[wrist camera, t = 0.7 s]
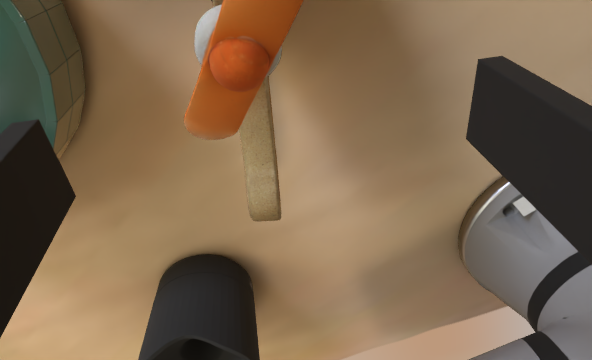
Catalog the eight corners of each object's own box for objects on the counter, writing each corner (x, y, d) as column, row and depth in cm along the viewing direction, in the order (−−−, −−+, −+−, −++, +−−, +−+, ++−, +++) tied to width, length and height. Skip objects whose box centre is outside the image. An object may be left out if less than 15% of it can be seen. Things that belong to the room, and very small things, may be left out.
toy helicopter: (301, -164, 23) (367, -244, 11) (315, 164, 34) (355, 292, 22) (149, -154, 22) (53, -228, 11) (214, 176, 33) (202, 312, 22)
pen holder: (224, 330, 43) (221, 429, 35) (138, 300, 40) (111, 403, 31) (275, 272, 40) (285, 367, 31) (185, 233, 36) (169, 329, 28)
